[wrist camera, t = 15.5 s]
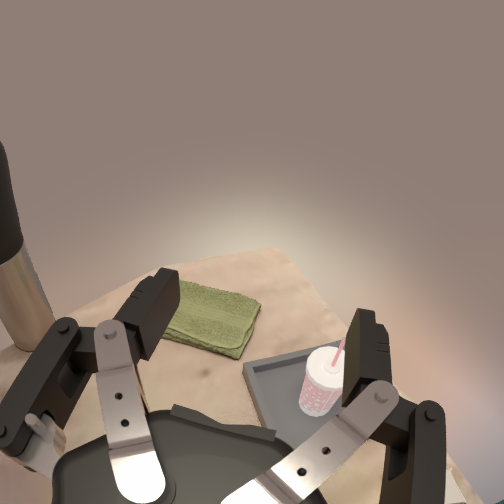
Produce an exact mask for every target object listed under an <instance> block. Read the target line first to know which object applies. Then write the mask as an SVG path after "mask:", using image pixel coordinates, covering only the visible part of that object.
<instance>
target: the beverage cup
mask: <svg viewBox="0 0 504 504" xmlns="http://www.w3.org/2000/svg"><path fill="white" fill-rule="evenodd" d="M345 340H346V338H345V337H343V338H342V340H341V343H340V345H339V348H337V347H331V346H327V347H320V348H318V349H316V350H315V351H313V352H312V353H311V355H310V356H309V357H308V359H307V364H306V375H305V379H304V383H303V386H302V390H301V394H300V398H299V405H300V408H301V409H302V410H303V412H304V413H306V414H308V415H310V416H315V417H318V416H323V415H324V414H326V413H327V412H328V411H329V410H330V409H331V407H332V406H333V405H334V403H335V402H336V401H337V399H338V398H339V397H340V395H341V394H342V391H343V375H344V355H345V351H344V350H342V349H343V347H344V344H345Z"/></svg>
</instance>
